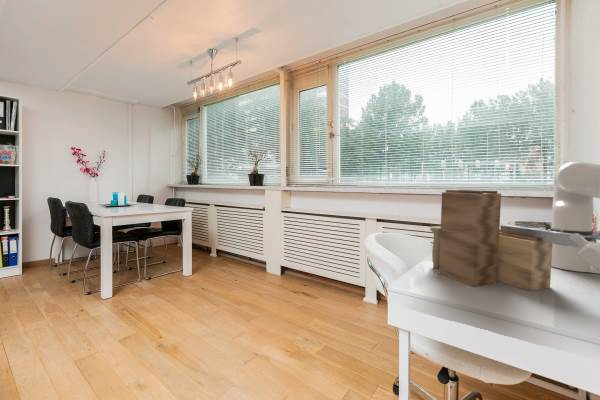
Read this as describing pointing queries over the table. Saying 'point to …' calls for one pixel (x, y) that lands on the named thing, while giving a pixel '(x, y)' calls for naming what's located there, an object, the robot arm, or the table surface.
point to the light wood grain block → (524, 261)
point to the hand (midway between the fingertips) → (583, 234)
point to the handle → (436, 246)
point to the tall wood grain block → (470, 236)
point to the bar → (540, 235)
